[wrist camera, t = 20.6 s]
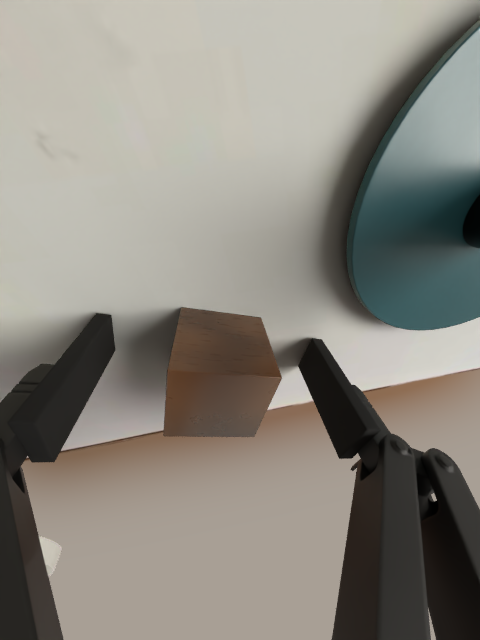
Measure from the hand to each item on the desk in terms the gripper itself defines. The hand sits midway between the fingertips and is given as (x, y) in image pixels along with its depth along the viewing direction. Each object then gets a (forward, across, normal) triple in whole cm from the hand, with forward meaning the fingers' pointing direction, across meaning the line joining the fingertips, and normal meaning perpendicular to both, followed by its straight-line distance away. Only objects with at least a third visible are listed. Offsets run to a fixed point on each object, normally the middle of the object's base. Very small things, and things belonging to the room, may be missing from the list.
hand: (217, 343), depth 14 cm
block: (0, 0, 0) cm, 0 cm away
